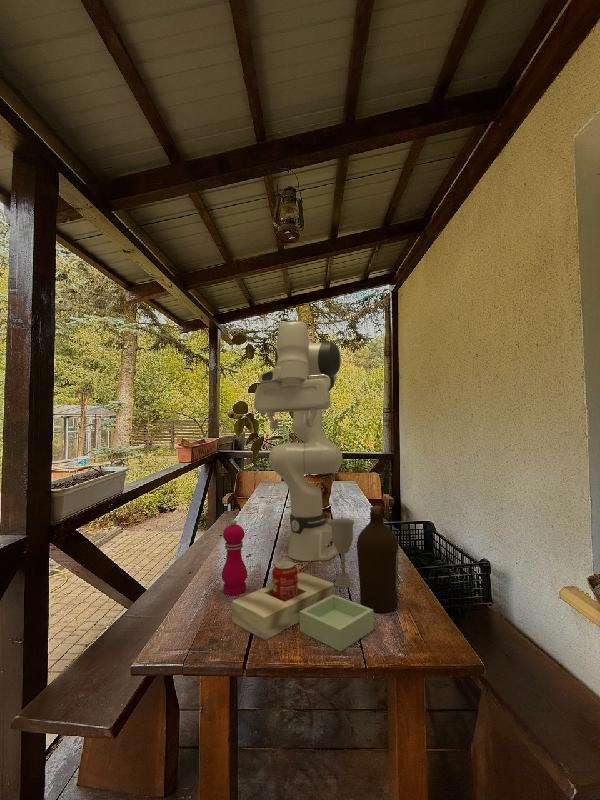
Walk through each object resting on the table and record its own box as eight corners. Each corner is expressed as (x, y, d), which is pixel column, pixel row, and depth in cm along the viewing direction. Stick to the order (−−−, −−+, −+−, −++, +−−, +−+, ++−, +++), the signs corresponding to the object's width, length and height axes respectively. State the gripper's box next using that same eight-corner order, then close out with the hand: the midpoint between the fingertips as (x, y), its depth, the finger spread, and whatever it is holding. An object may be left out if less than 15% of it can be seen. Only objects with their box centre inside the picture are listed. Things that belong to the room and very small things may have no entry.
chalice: (359, 581, 123) (358, 520, 124) (350, 590, 117) (348, 525, 118) (337, 577, 127) (335, 517, 127) (327, 585, 121) (325, 522, 121)
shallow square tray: (333, 612, 105) (333, 594, 105) (373, 629, 97) (373, 609, 97) (299, 631, 97) (299, 611, 97) (340, 651, 88) (340, 629, 88)
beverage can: (284, 604, 110) (283, 557, 110) (303, 611, 106) (302, 563, 106) (268, 613, 105) (267, 565, 106) (286, 621, 101) (285, 570, 102)
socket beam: (302, 590, 119) (301, 572, 119) (335, 603, 110) (334, 583, 110) (232, 621, 101) (232, 601, 102) (264, 640, 93) (264, 617, 93)
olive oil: (362, 615, 103) (360, 513, 104) (354, 596, 114) (352, 503, 114) (405, 613, 104) (402, 511, 104) (393, 594, 114) (391, 502, 115)
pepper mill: (219, 587, 121) (218, 518, 122) (244, 583, 124) (243, 515, 124) (224, 598, 115) (223, 524, 115) (250, 593, 117) (248, 521, 117)
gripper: (333, 377, 112) (333, 428, 109) (261, 383, 118) (259, 431, 114) (327, 369, 107) (328, 422, 103) (252, 376, 112) (250, 427, 108)
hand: (291, 427), depth 109 cm, fingers open, 8 cm apart
